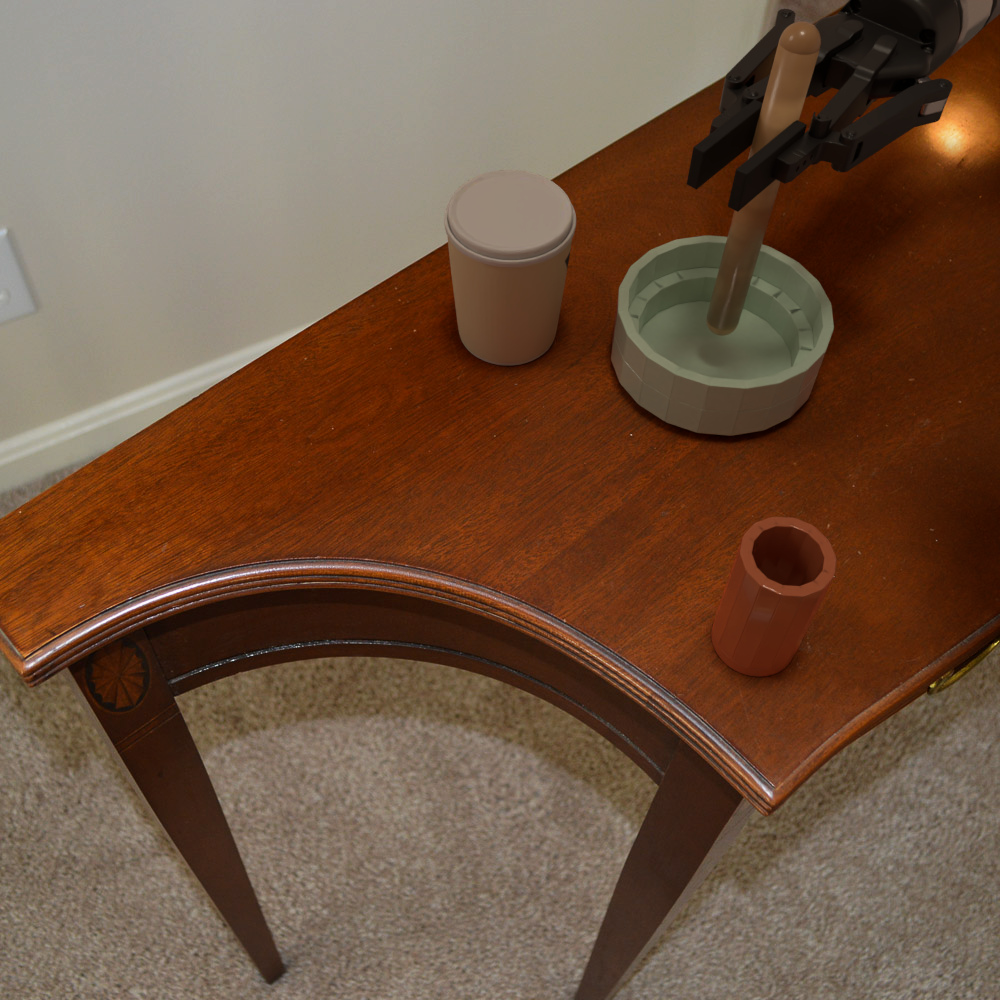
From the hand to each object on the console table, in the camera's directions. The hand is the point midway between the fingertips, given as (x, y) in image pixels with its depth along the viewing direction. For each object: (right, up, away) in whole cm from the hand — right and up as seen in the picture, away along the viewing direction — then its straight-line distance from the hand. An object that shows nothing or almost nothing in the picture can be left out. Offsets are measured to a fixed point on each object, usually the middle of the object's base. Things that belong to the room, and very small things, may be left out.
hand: (716, 179), depth 65 cm
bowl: (+3, -9, +19) cm, 21 cm away
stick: (+3, -7, +16) cm, 18 cm away
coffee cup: (-12, -6, +21) cm, 25 cm away
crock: (+3, -28, +5) cm, 29 cm away
